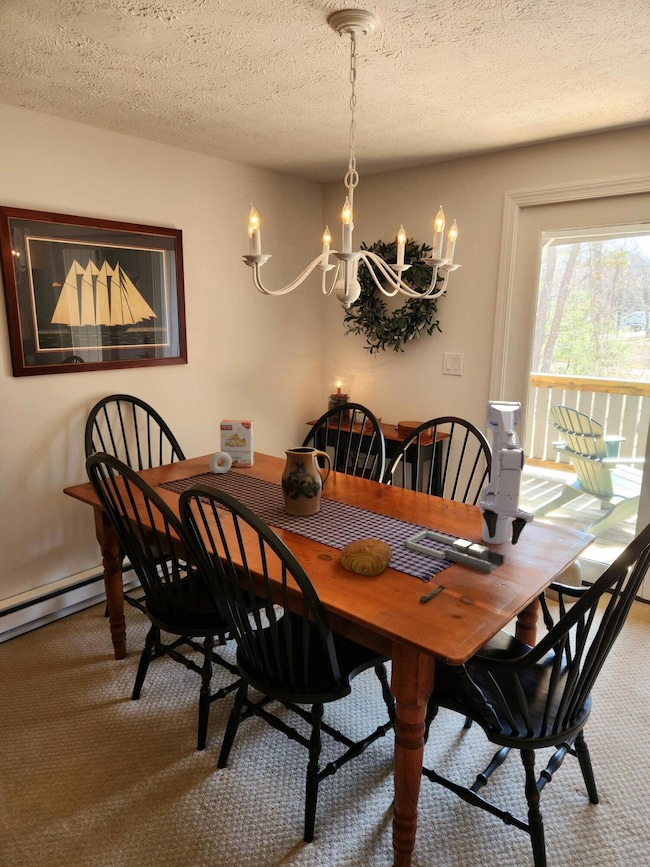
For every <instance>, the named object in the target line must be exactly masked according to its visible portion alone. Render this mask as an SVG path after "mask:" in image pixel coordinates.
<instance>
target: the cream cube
mask: <svg viewBox="0 0 650 867" xmlns="http://www.w3.org/2000/svg"><path fill="white" fill-rule="evenodd" d="M473 544H474V543H473ZM488 549H489V547H487V546H484V545H482V544H481V545H480V544H477V543H475V544H474V545H473V546H471V547H469V549H468V555H469V556H472V557H475V558H478V559H481V560H484V561H487V559H488Z"/></svg>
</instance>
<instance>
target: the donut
mask: <svg viewBox="0 0 650 867" xmlns="http://www.w3.org/2000/svg"><path fill="white" fill-rule="evenodd" d="M221 459H223V460H224V464H223V465H222V466H221V465H220V466H219V465H218V462H219V461H221ZM208 465H209V468H210V470H211V471H212V472H213V473H215V474H217V473H223V474H226V473H227V472H228V471H229V470H230V469H231V468H232V467H231V465H232V459H231V457H230V455H229V454H228V453H226V452H221V450H220V451H217V452H215V453H213V455H212V456H210V459H209V463H208Z"/></svg>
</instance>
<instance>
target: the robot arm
mask: <svg viewBox="0 0 650 867" xmlns="http://www.w3.org/2000/svg"><path fill="white" fill-rule="evenodd" d="M485 408H486V409H485V427H486V428H487V429H489V430H491V434H492V445H491V446H492V448H491V450H492V452H491V466H490V467H491V469H490V482H489V483H488V484H486V485H484V486H483V487H482V488H481V489H480V496H479V506H478V509H479V512H480V513H481V514H482V518H483V519H482V527H481V528H482V529H481V539H482V541H484V542H486V543H489V544H492V545H493V544H494V545H499V544H500V545H501V544H502V545H503V544H504V543H506V542H510V543H511V545H514V546H515V545H517V544H518V542H519V539H520V536H521V533H522V531H523V530H524V528H525V526H526V525H527V523H529V524H530V523H533V522H534V516H535V515H534V513H531V512H528V511H526V510H523V509H521V508H518V504H519V495H520V482H521V473H522V471H523V470H524V466H525V451H524V449H523V447H521V444H520V438H519V434H518V433H517V432H516V431H515V430H517V428H518V426H519V424H520V421H521V419H522V413H523V412H522V411H523V410H522V409H523V408H522V404H521V402H520V401H517V402H516V401H515V402H514V401H495V400H488V401H487V403H486V407H485ZM512 518H514V520H512ZM511 533H512V535H511Z"/></svg>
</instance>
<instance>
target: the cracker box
mask: <svg viewBox="0 0 650 867" xmlns="http://www.w3.org/2000/svg"><path fill="white" fill-rule="evenodd" d="M219 425H220V426H219V433H220V435H219V436H220V438H219V439H220V451H221V452H226V453H228V454H229V455H230V457H231V459H232V465H231V466H236V467H235V468H244V467H251V466H252V467H253V466H254V420H245V419H244V420H243V419H242V420H241V419H240V420H239V419H238V420H237V419H222V420H221V421H220V422H219ZM223 464H224V460H223V459H220V466H222V465H223ZM252 467H251V468H252Z"/></svg>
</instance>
